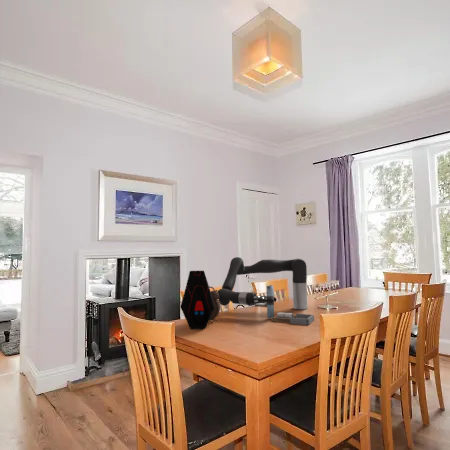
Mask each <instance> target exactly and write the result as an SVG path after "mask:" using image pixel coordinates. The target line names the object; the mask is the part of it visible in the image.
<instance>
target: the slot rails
mask: <svg viewBox="0 0 450 450" xmlns="http://www.w3.org/2000/svg"><path fill="white" fill-rule="evenodd" d="M294 318H296V315H294ZM271 322H275V323H287V324H290V318H278V317H277V316H276V317H275V316H274V317H272V318H271Z"/></svg>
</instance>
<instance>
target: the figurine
mask: <svg viewBox="0 0 450 450" xmlns="http://www.w3.org/2000/svg"><path fill="white" fill-rule="evenodd" d="M205 272H206V271H205V270H190V271H189V273H188V278H187V281H186V284H185V285H186V286H185V289H184V291H183V292H184V293H183V297H182V298H181V303H180V310H181V311H182V314H183V316H184V318H185V320H186V323H187V325H188V327H189V330H205V329H206V328H207V326H208V324H209V322H210V321H211V320H210V317H211V315H212V313H213V311H214V309H215V304H214V301H213V298H212V295H211V291H212V290H211V288H210V287H209V286H210V285H209V282H208V279H207V276H206V273H205ZM209 320H210V321H209Z"/></svg>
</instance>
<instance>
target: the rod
mask: <svg viewBox="0 0 450 450" xmlns="http://www.w3.org/2000/svg"><path fill="white" fill-rule="evenodd" d="M274 293H275V291H274V285H273V284H270V285H266V296H267V299H274V298H275V296H274V295H275V294H274ZM266 316H267V317H266V318H267V319H272V317H275V302H274V303H267V307H266Z"/></svg>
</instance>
